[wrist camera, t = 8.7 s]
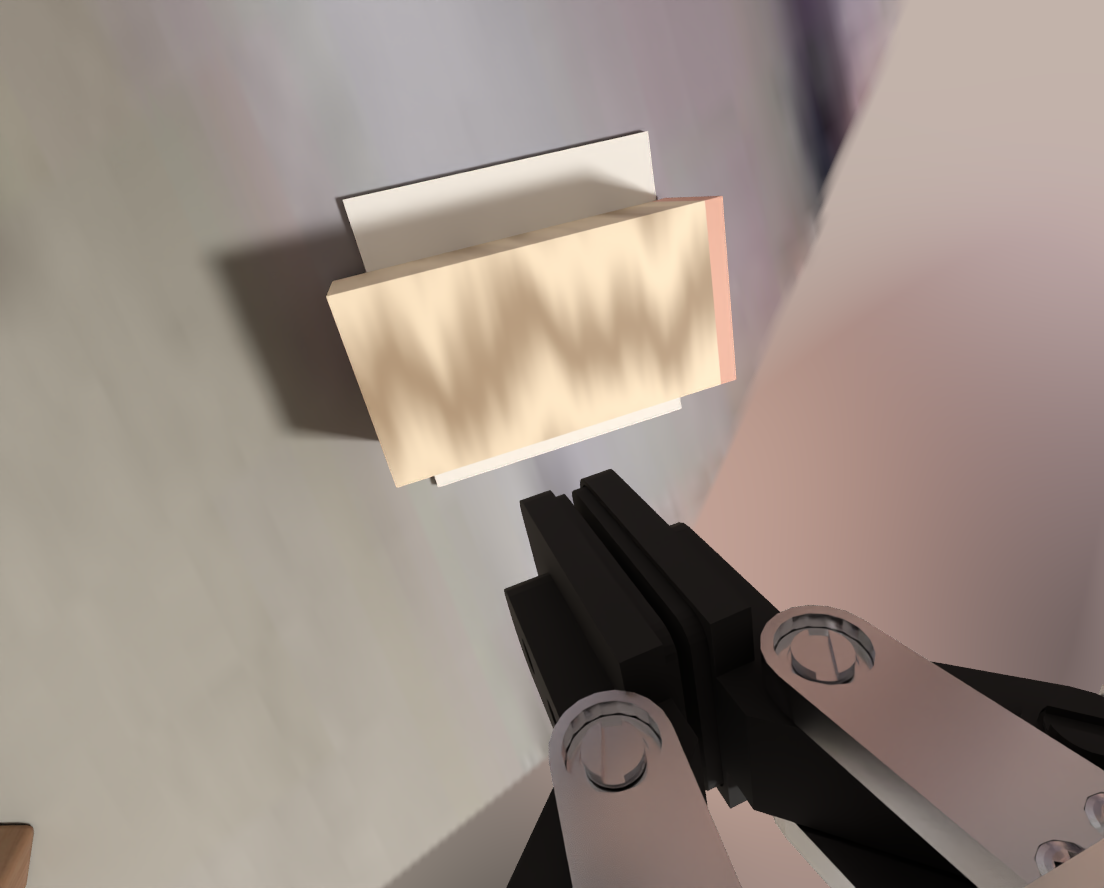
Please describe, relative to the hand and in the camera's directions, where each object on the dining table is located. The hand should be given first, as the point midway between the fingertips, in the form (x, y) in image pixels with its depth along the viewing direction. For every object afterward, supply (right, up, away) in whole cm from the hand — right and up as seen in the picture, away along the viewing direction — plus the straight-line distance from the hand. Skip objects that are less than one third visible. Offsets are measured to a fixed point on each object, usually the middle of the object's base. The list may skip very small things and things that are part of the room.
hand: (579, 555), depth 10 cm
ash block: (-8, +5, +15) cm, 17 cm away
